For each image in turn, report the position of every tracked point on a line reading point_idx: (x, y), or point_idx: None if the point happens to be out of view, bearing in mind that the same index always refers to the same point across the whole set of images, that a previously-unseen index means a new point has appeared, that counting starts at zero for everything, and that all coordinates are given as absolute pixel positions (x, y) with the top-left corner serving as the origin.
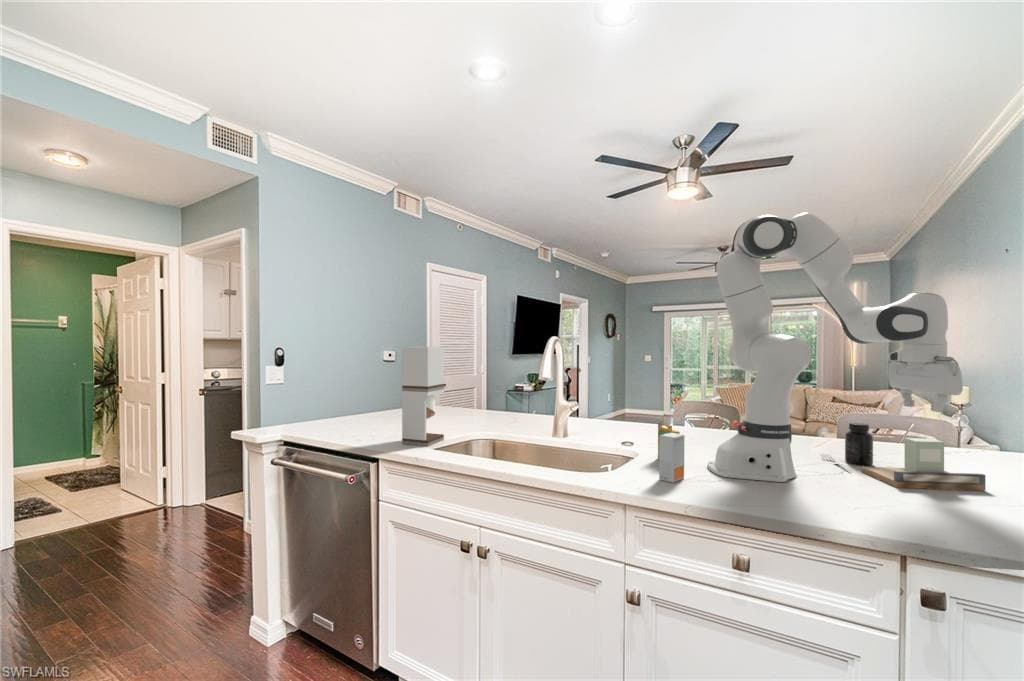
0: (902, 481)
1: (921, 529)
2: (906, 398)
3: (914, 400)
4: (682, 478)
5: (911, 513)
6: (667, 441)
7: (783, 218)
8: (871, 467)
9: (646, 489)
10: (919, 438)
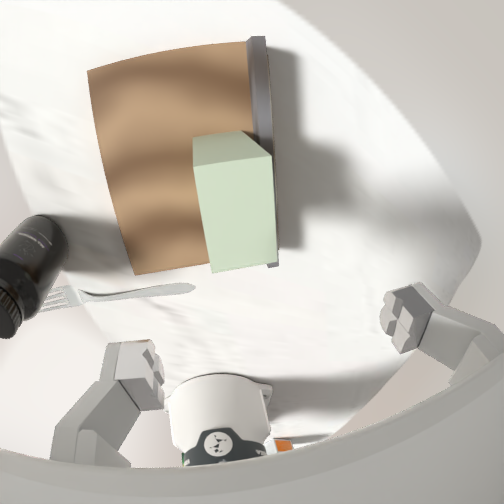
0: None
1: (433, 288)
2: (132, 414)
3: (146, 377)
4: (276, 439)
5: (397, 278)
6: None
7: None
8: (133, 256)
9: (311, 442)
10: (203, 219)
